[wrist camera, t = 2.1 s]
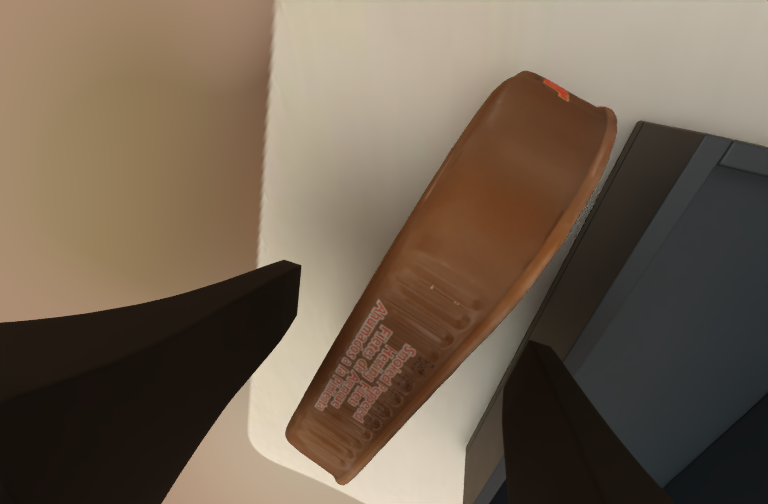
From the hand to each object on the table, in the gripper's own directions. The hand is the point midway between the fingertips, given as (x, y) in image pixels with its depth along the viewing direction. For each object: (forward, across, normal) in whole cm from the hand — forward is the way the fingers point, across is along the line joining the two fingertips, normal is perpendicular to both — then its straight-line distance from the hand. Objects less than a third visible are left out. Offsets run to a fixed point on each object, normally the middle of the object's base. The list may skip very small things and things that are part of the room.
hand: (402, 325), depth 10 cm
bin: (+6, -10, +2) cm, 12 cm away
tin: (+6, 0, 0) cm, 6 cm away
